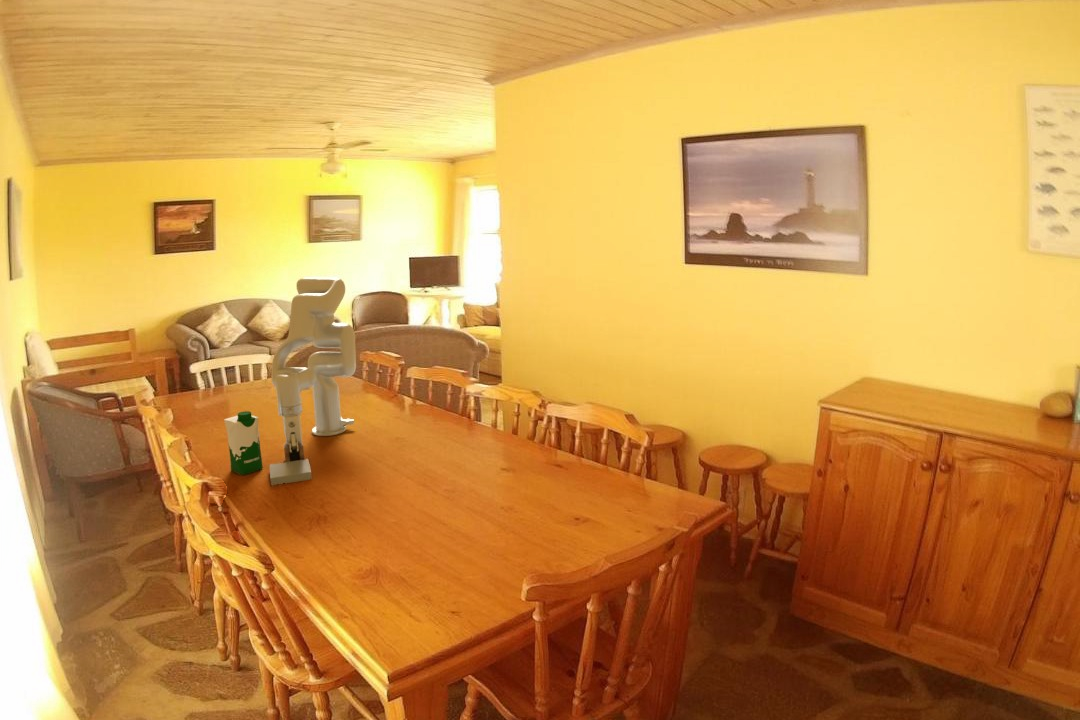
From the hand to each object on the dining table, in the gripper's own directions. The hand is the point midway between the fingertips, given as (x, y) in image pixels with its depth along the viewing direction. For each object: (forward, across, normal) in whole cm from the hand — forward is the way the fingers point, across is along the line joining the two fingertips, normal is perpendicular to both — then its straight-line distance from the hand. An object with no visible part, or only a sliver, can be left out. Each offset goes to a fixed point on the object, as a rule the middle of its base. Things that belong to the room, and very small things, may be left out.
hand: (294, 458), depth 217 cm
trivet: (+1, -13, +2) cm, 13 cm away
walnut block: (+1, 0, 0) cm, 1 cm away
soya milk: (+1, -2, +15) cm, 15 cm away
